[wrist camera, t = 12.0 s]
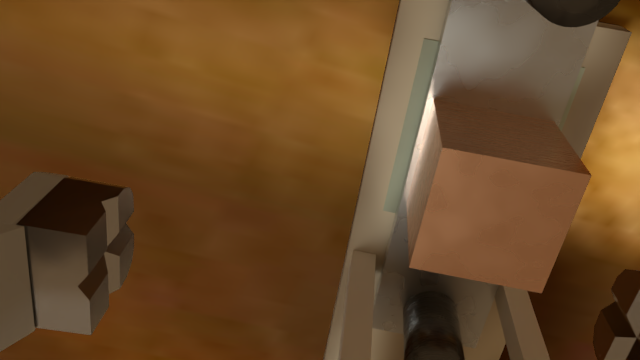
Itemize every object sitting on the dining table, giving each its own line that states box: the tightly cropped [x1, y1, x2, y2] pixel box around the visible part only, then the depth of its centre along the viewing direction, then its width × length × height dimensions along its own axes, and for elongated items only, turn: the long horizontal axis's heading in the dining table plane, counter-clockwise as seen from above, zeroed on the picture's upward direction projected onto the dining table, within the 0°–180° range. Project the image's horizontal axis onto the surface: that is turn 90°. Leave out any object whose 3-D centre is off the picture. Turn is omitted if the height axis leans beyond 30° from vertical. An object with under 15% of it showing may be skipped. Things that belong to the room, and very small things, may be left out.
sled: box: [372, 0, 620, 360], centre depth 28 cm, size 7×24×7 cm, turn 171°
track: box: [323, 0, 631, 360], centre depth 38 cm, size 11×42×2 cm, turn 171°
